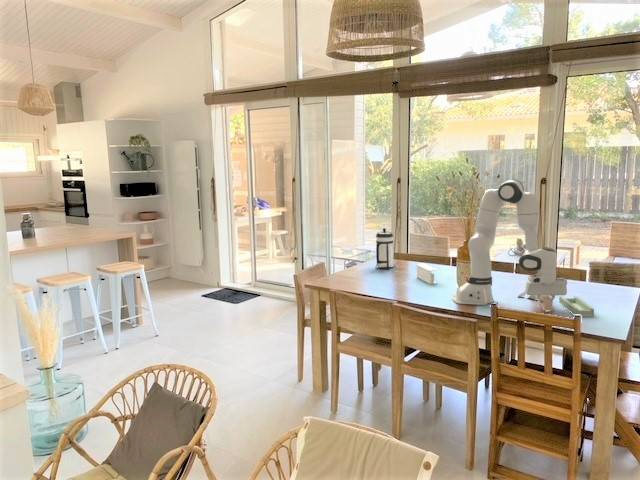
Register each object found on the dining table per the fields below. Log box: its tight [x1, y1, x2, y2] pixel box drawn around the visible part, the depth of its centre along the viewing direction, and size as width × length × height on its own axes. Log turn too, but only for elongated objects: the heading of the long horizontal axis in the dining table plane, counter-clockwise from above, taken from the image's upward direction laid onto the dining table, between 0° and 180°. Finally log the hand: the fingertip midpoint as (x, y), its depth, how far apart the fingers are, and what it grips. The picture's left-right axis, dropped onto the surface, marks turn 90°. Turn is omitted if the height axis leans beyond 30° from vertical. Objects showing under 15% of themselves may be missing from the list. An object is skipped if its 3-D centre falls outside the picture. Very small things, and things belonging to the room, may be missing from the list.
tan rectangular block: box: [539, 295, 554, 312], centre depth 258 cm, size 4×16×6 cm, turn 166°
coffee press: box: [375, 228, 396, 271], centre depth 361 cm, size 17×16×30 cm
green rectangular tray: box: [558, 295, 595, 318], centre depth 254 cm, size 9×22×4 cm, turn 173°
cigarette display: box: [416, 263, 438, 285], centre depth 324 cm, size 20×6×9 cm, turn 14°
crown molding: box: [517, 291, 538, 300], centre depth 286 cm, size 31×12×4 cm, turn 136°
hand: (545, 303), depth 259 cm, fingers closed on tan rectangular block, 4 cm apart
